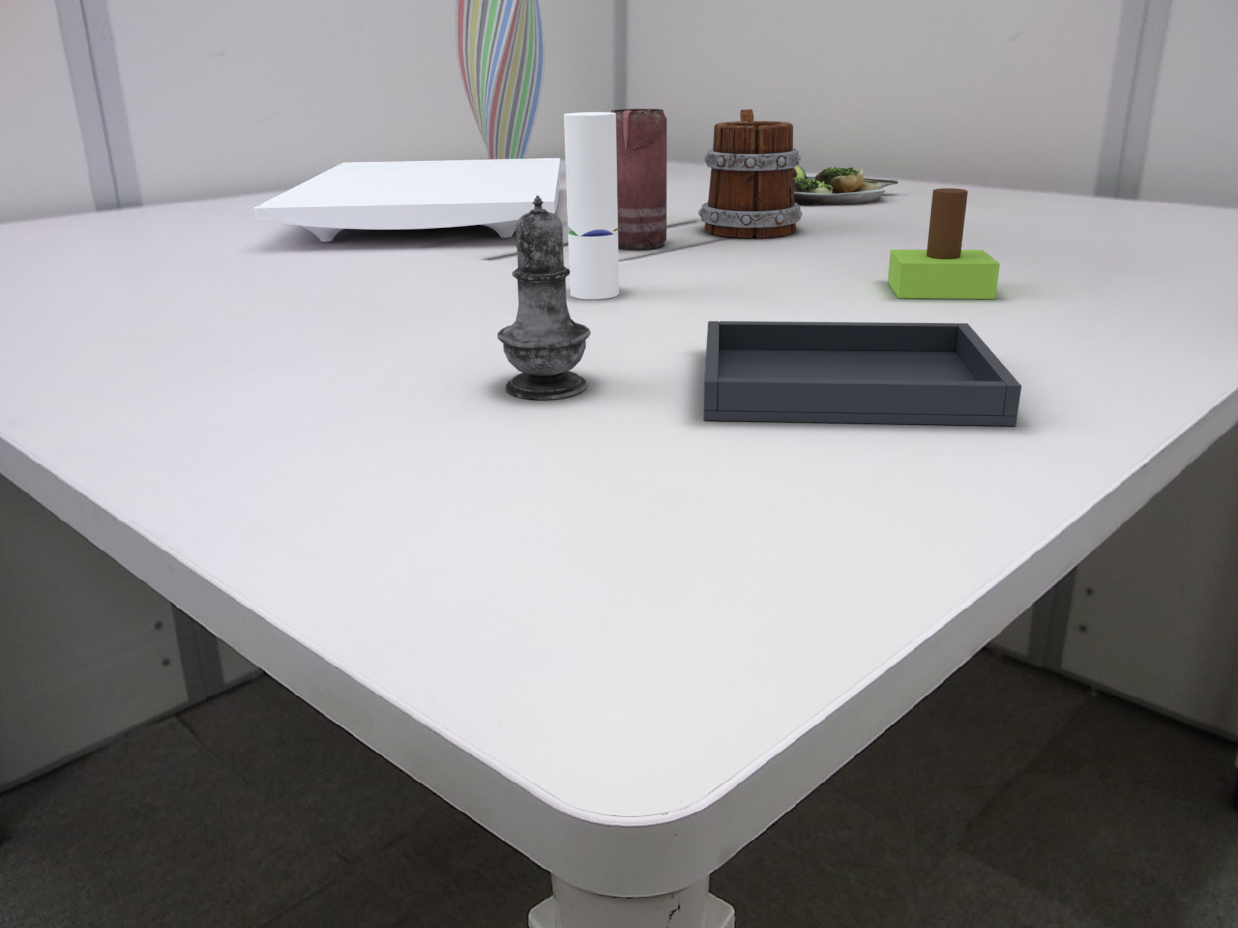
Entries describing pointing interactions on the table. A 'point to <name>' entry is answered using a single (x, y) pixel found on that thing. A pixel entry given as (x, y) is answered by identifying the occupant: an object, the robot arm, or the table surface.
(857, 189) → the salad plate
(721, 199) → the mug
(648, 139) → the can
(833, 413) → the tray
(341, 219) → the board
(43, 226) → the table surface
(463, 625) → the table surface
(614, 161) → the tube
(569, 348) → the salt shaker
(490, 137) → the vase
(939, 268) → the green block brown handle
